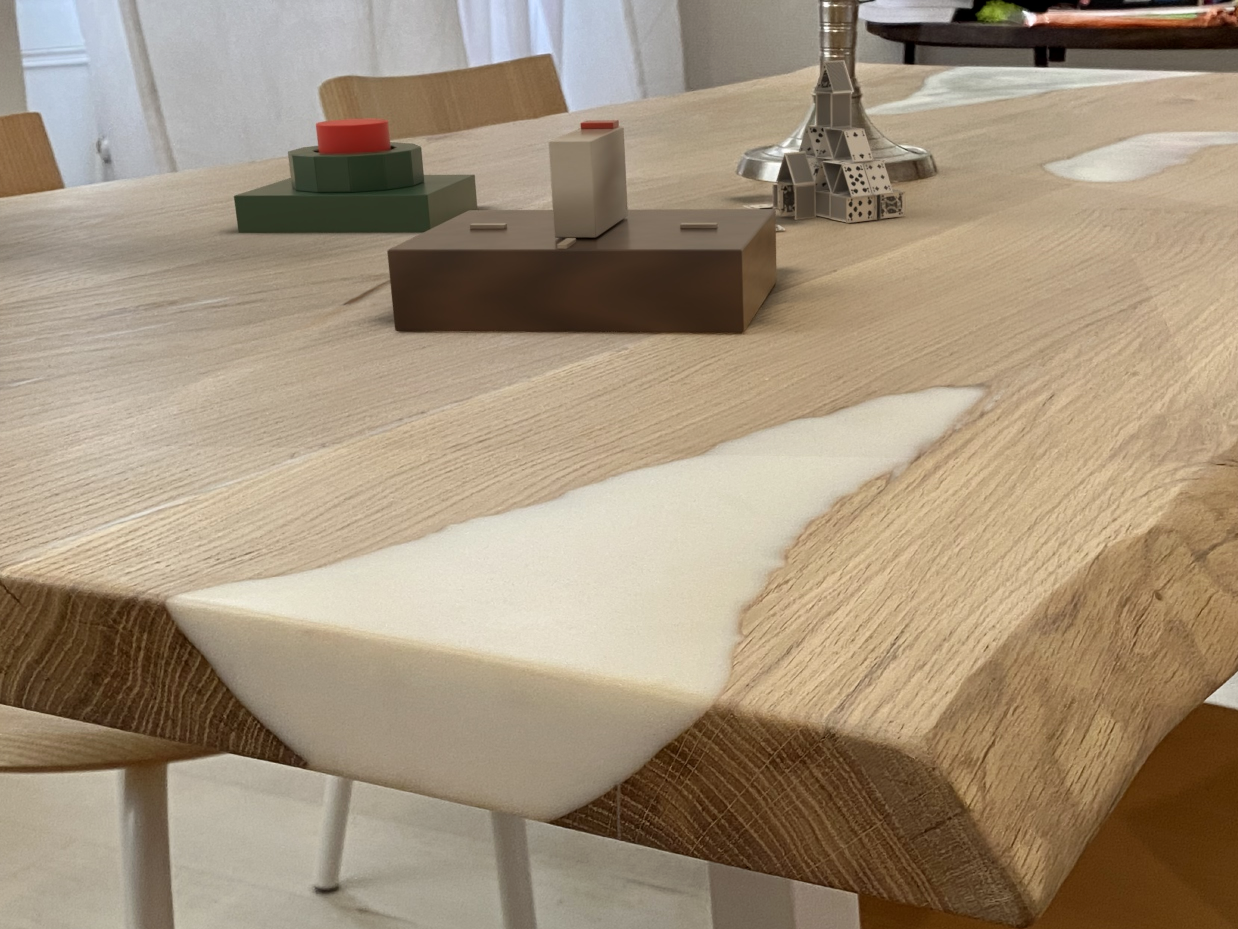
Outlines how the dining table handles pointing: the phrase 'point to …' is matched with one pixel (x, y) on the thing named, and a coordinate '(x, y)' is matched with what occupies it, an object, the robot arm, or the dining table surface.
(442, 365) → the dining table surface
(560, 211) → the beige block
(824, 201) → the house of cards
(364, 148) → the button
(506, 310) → the brown slotted block
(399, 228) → the button block
